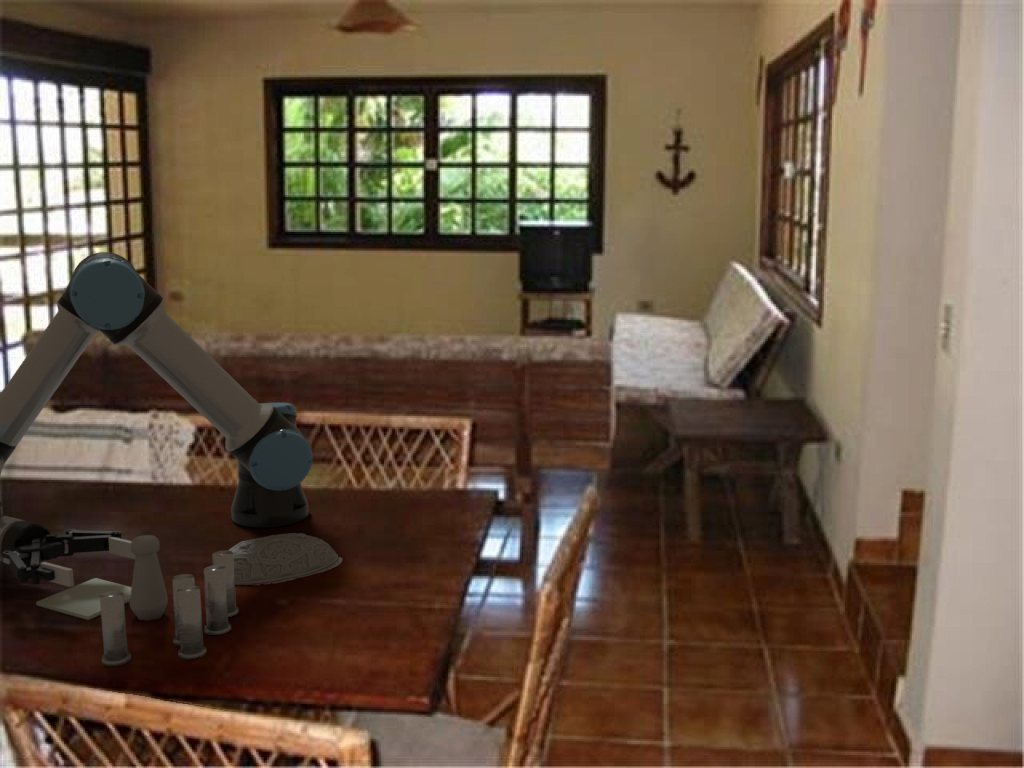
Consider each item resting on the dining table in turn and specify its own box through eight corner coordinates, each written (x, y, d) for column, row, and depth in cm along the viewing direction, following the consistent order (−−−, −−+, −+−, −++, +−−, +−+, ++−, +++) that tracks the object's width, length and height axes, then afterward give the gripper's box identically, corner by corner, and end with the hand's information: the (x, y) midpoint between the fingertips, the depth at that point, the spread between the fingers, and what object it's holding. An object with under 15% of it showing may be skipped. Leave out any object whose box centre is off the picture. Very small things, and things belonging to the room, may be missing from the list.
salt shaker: (133, 625, 178) (128, 546, 175) (127, 612, 183) (121, 535, 180) (172, 618, 181) (167, 540, 178) (165, 605, 186) (160, 529, 183)
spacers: (237, 607, 185) (234, 548, 183) (253, 650, 169) (250, 586, 167) (99, 626, 178) (94, 565, 176) (102, 673, 162) (97, 606, 160)
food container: (192, 563, 204) (193, 528, 202) (326, 547, 215) (328, 514, 214) (214, 602, 191) (215, 565, 189) (356, 582, 203) (358, 547, 201)
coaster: (95, 581, 196) (95, 577, 196) (146, 594, 190) (146, 590, 190) (36, 605, 186) (36, 601, 186) (88, 620, 180) (88, 616, 180)
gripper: (79, 541, 206) (165, 562, 196) (-47, 587, 185) (42, 613, 175) (76, 501, 204) (162, 520, 194) (-51, 543, 183) (38, 566, 173)
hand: (106, 564), depth 184 cm, fingers open, 13 cm apart
